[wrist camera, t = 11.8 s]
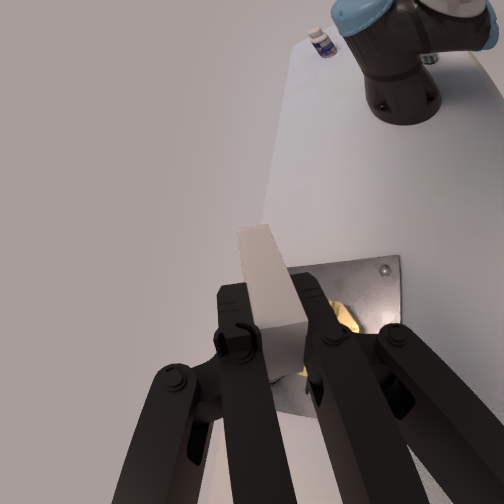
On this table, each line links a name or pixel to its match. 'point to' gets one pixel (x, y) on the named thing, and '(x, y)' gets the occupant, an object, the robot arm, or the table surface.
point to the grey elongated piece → (428, 58)
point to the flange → (359, 303)
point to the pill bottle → (322, 42)
